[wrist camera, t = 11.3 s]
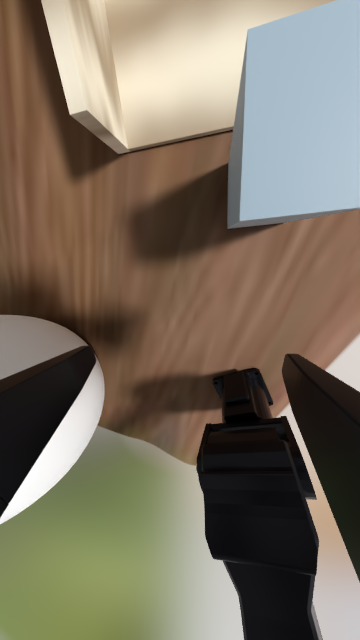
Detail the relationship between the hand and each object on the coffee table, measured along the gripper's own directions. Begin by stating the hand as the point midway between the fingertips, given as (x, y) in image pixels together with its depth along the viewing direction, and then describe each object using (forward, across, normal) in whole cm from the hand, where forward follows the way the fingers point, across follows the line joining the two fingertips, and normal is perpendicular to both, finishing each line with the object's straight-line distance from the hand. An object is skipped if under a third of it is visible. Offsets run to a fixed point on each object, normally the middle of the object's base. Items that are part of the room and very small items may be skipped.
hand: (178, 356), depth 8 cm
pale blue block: (+13, -5, -8) cm, 16 cm away
